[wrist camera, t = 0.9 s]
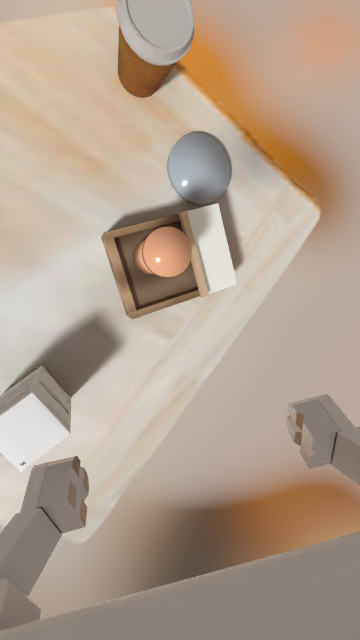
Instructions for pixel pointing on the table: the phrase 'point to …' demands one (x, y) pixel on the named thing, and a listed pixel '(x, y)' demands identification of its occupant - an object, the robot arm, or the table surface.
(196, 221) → the lid panel
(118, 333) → the table surface
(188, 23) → the disposable coffee cup
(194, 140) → the saucer
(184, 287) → the wooden box
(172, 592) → the robot arm
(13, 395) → the supplement box
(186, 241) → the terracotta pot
